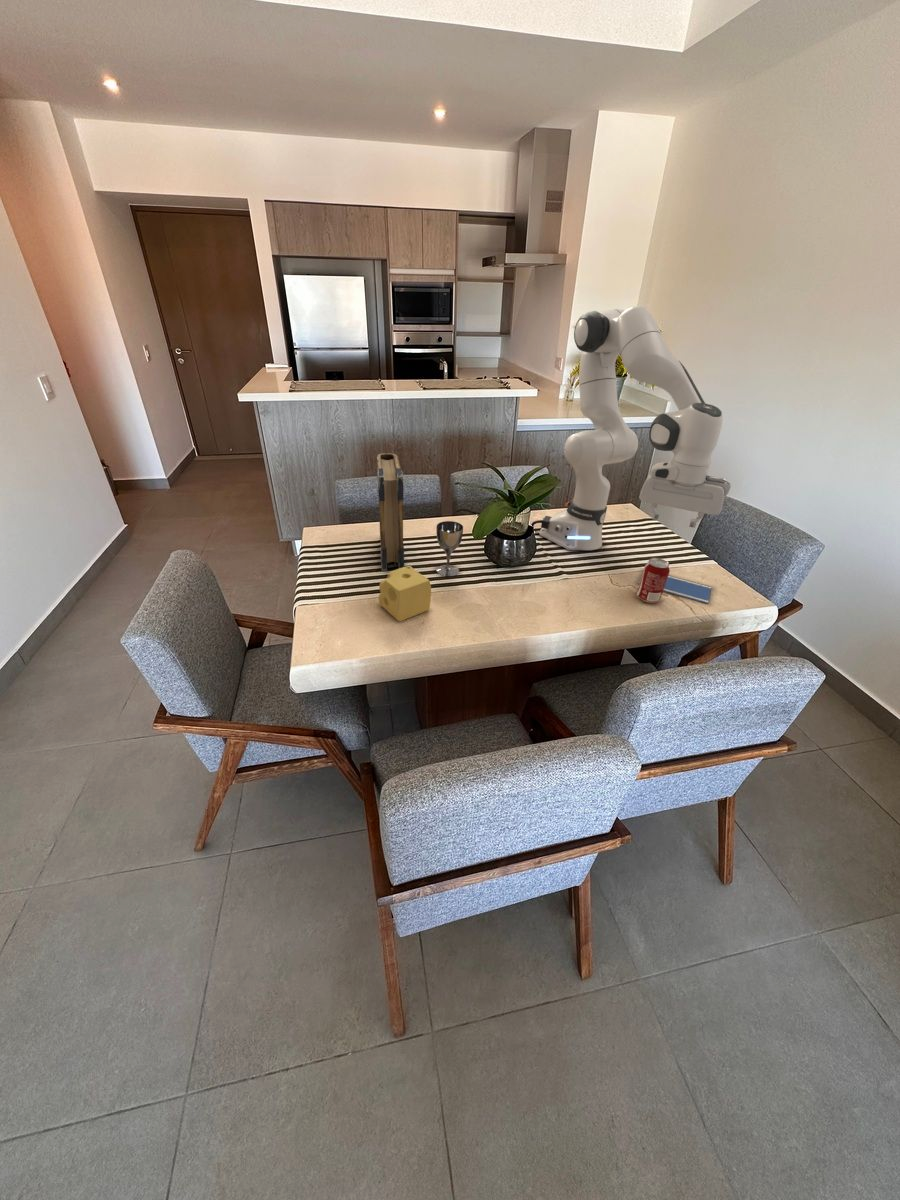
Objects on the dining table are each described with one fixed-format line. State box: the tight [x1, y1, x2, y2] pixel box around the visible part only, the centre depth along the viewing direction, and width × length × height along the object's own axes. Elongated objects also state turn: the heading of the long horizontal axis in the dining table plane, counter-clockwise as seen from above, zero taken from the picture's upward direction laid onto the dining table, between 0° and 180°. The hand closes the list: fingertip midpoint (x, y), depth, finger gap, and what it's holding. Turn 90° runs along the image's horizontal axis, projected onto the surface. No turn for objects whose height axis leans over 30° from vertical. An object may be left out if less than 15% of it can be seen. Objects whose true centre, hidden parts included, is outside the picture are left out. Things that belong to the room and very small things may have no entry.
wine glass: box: [435, 520, 464, 577], centre depth 151 cm, size 8×8×15 cm
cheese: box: [378, 565, 432, 622], centre depth 134 cm, size 10×11×10 cm
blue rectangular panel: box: [638, 574, 712, 605], centre depth 153 cm, size 20×11×1 cm, turn 61°
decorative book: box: [376, 452, 405, 572], centre depth 156 cm, size 23×7×30 cm, turn 9°
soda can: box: [636, 557, 671, 604], centre depth 144 cm, size 7×7×12 cm
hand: (673, 522), depth 134 cm, fingers open, 8 cm apart
